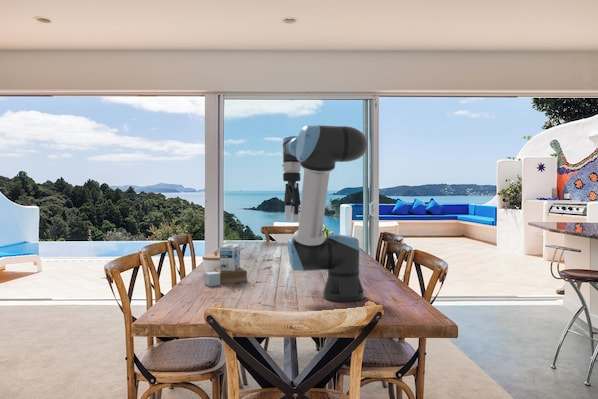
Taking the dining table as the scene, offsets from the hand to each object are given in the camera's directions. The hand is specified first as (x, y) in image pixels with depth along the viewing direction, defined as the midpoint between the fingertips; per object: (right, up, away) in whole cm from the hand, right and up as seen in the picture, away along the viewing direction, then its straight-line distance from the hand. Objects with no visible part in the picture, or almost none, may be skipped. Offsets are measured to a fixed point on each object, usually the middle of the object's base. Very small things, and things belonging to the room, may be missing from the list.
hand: (291, 221), depth 193 cm
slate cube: (-34, -27, -4) cm, 43 cm away
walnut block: (-28, -27, +6) cm, 39 cm away
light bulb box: (-28, -22, +6) cm, 36 cm away
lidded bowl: (-36, -27, +18) cm, 49 cm away
